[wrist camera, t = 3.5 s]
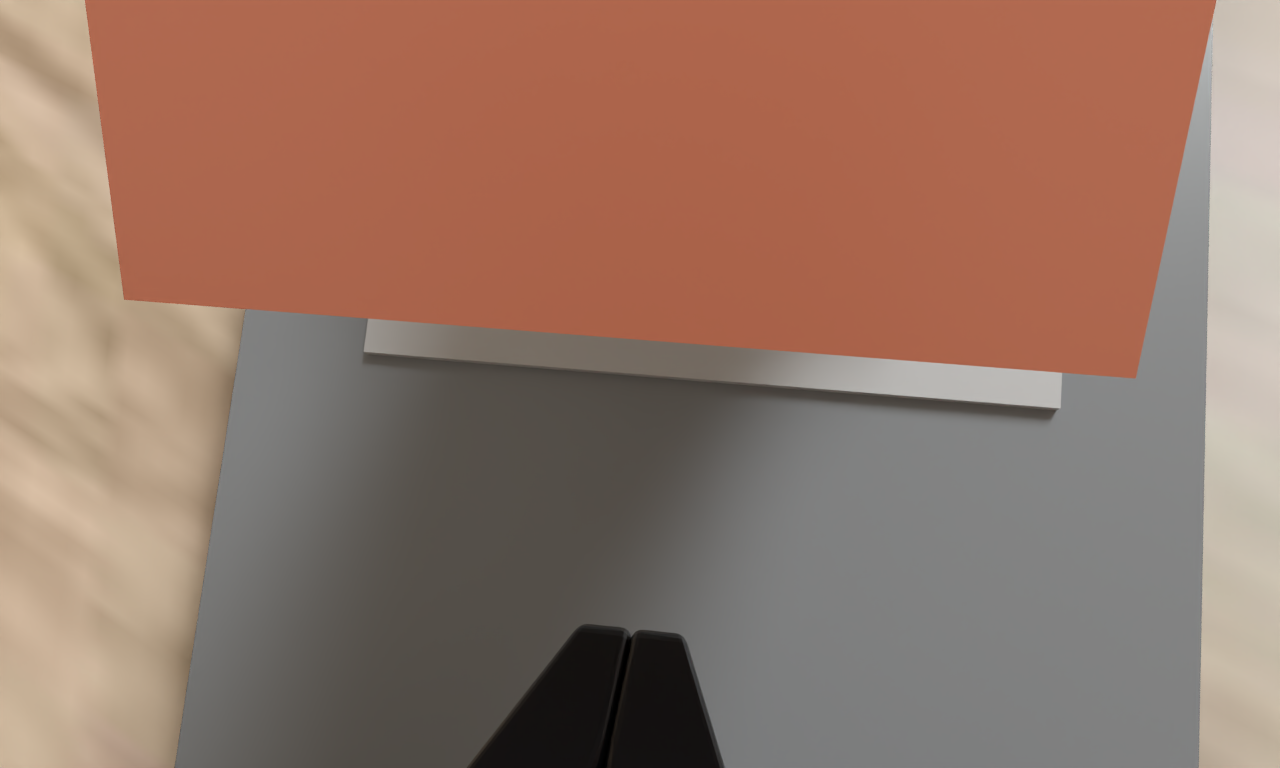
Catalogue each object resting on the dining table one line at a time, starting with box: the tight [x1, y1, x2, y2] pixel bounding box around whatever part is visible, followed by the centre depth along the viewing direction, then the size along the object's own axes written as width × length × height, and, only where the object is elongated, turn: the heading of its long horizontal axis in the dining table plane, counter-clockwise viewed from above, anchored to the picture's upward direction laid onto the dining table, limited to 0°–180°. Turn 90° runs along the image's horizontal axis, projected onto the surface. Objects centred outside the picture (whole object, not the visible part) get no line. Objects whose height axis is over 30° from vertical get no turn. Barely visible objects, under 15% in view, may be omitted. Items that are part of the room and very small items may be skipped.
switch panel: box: [175, 18, 1213, 768], centre depth 15 cm, size 18×14×4 cm
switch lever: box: [85, 0, 1216, 379], centre depth 10 cm, size 2×5×10 cm, turn 87°
